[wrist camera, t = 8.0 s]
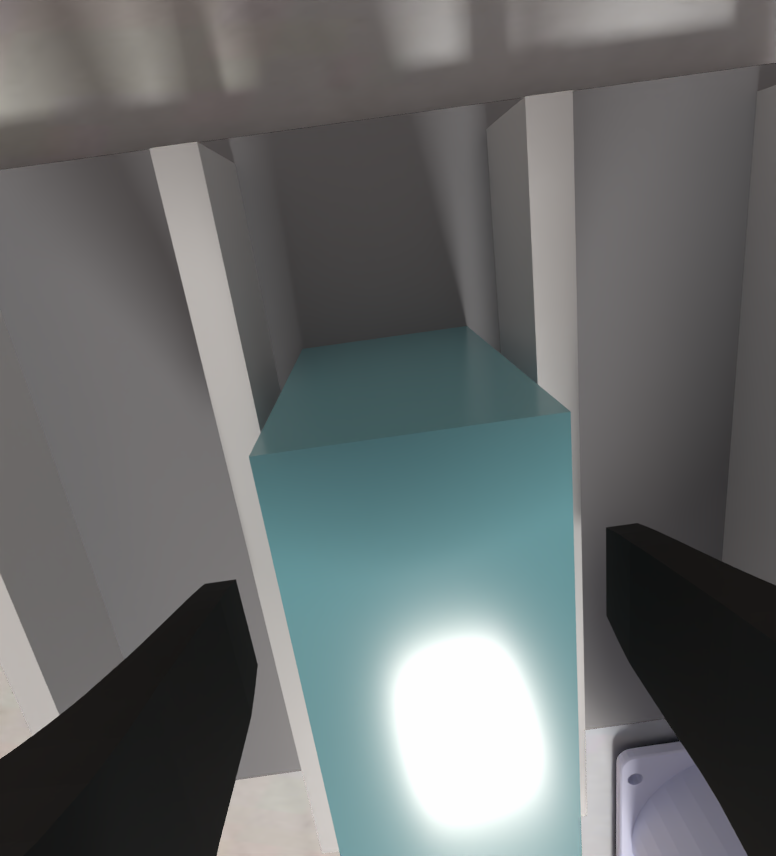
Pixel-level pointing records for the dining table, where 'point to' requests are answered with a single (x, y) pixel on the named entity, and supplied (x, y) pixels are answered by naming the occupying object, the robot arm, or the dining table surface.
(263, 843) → the dining table surface
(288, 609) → the tall teal block
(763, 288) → the dish rack
